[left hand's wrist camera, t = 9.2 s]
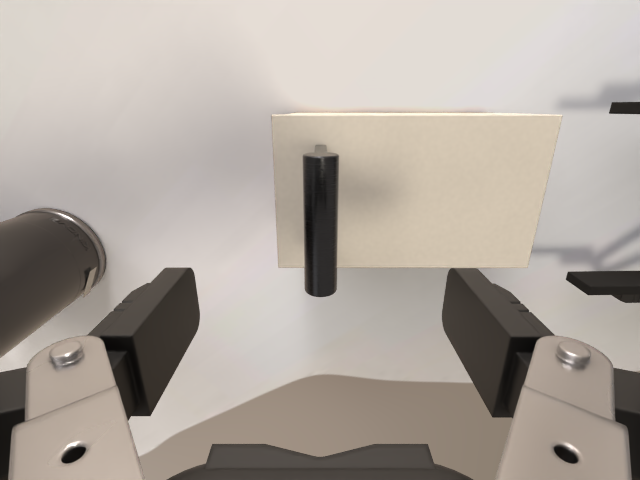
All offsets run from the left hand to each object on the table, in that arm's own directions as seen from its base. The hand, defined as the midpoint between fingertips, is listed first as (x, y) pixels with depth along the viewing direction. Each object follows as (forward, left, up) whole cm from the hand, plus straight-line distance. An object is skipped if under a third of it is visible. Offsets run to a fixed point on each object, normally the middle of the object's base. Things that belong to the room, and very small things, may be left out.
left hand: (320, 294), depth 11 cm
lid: (+4, -4, -14) cm, 15 cm away
